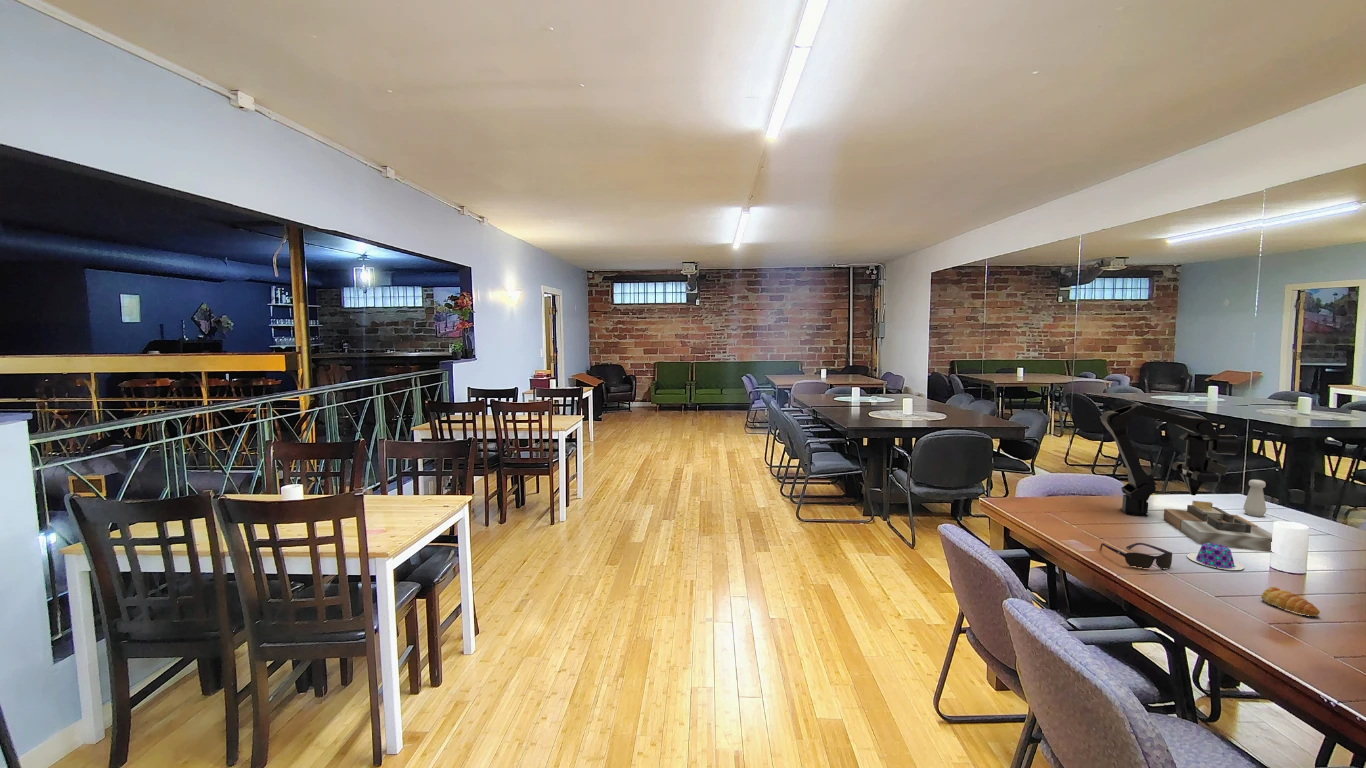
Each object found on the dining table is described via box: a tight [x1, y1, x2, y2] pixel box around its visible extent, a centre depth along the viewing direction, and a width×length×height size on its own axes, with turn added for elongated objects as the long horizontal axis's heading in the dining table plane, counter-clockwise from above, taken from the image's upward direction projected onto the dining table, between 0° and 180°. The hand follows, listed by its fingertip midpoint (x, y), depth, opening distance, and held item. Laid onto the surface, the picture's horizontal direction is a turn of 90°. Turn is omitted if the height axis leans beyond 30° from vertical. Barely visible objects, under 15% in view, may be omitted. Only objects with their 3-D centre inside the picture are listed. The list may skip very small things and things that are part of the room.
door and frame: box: [1163, 504, 1273, 552], centre depth 179 cm, size 20×24×6 cm
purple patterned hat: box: [1186, 543, 1245, 571], centre depth 157 cm, size 12×12×5 cm
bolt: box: [1191, 500, 1223, 520], centre depth 185 cm, size 5×8×4 cm, turn 159°
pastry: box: [1260, 586, 1321, 617], centre depth 131 cm, size 9×7×4 cm
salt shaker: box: [1243, 479, 1267, 518], centre depth 197 cm, size 6×6×13 cm
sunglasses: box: [1099, 542, 1173, 569], centre depth 161 cm, size 14×16×5 cm
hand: (1193, 495), depth 194 cm, fingers closed
